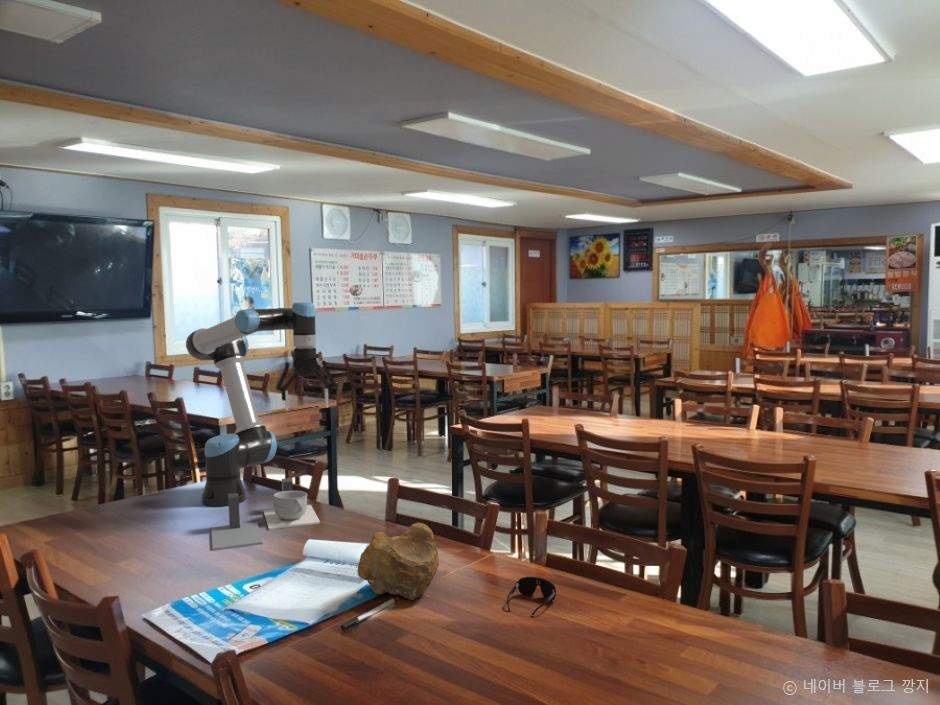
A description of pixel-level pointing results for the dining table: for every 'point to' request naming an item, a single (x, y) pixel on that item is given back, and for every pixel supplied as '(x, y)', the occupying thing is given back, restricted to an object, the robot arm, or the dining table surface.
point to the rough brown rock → (400, 562)
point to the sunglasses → (534, 588)
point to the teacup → (290, 504)
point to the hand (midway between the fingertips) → (307, 408)
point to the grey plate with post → (305, 519)
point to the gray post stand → (235, 529)
